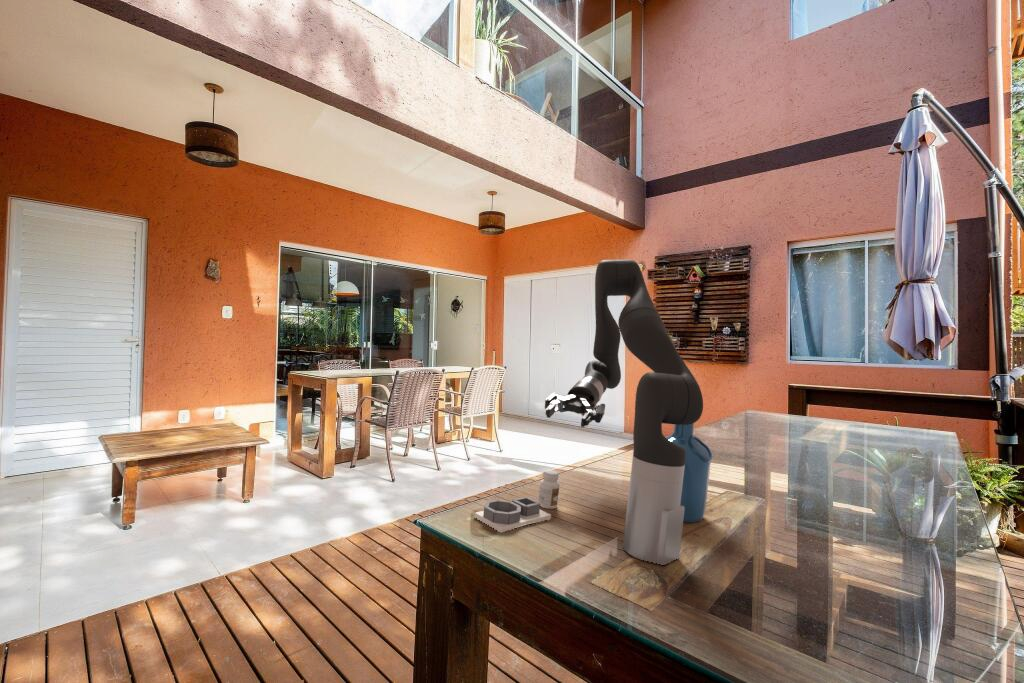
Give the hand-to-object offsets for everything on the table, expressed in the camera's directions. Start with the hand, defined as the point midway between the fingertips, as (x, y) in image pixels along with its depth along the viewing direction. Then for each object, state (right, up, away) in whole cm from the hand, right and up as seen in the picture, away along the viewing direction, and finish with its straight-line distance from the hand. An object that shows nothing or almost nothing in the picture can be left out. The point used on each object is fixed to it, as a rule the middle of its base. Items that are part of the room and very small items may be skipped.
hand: (565, 418), depth 105 cm
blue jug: (+26, -23, +2) cm, 35 cm away
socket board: (-12, -18, -13) cm, 26 cm away
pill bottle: (-4, -19, -3) cm, 20 cm away
